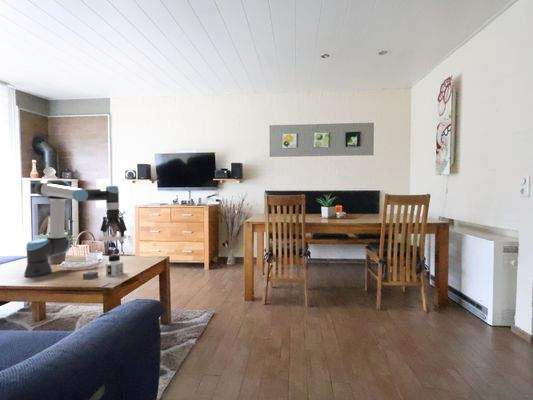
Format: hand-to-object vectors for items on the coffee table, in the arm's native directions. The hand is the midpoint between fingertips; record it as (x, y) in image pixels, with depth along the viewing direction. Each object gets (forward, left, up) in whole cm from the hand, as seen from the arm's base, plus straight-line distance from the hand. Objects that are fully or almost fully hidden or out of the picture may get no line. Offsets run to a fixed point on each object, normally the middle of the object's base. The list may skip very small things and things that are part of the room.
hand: (113, 241), depth 204 cm
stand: (-10, -10, -22) cm, 26 cm away
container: (0, 0, -22) cm, 22 cm away
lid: (0, 0, +1) cm, 1 cm away
